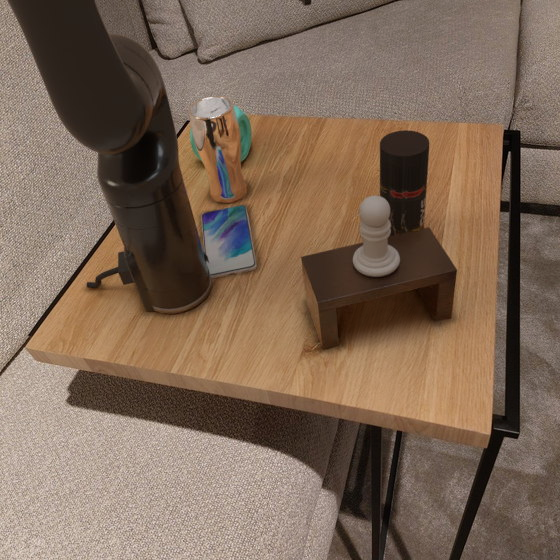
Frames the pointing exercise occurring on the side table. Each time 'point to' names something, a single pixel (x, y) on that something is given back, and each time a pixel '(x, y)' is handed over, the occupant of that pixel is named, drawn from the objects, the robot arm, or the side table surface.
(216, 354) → the side table surface
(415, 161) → the deodorant
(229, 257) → the smartphone
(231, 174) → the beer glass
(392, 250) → the chess piece
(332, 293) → the shelf
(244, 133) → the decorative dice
